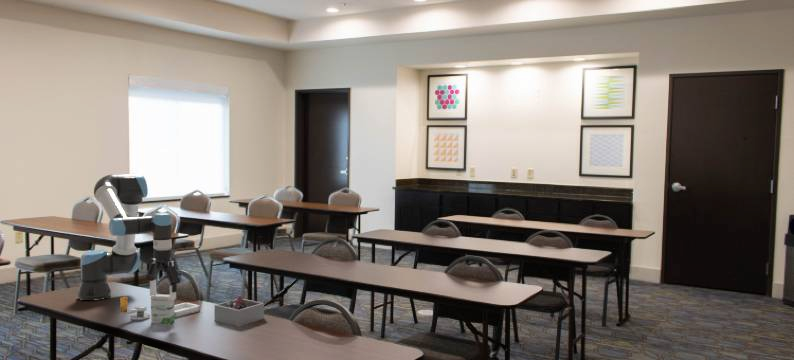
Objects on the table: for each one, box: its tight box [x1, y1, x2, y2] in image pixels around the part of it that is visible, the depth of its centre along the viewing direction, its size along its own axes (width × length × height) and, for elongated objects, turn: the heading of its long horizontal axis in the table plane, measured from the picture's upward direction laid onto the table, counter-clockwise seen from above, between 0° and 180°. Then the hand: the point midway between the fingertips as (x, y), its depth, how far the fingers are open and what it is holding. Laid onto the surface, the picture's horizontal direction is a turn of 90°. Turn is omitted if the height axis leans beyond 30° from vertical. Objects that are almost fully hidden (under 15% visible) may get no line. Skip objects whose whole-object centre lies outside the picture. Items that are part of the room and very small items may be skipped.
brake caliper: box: [226, 294, 246, 310], centre depth 274 cm, size 11×11×12 cm
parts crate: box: [214, 298, 265, 328], centre depth 274 cm, size 15×15×7 cm
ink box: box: [150, 293, 175, 325], centre depth 268 cm, size 9×5×12 cm, turn 84°
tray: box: [174, 301, 201, 319], centre depth 283 cm, size 10×14×2 cm
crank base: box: [130, 311, 151, 321], centre depth 274 cm, size 8×8×3 cm
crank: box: [119, 295, 148, 316], centre depth 270 cm, size 12×5×8 cm, turn 147°
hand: (162, 297), depth 268 cm, fingers open, 13 cm apart
